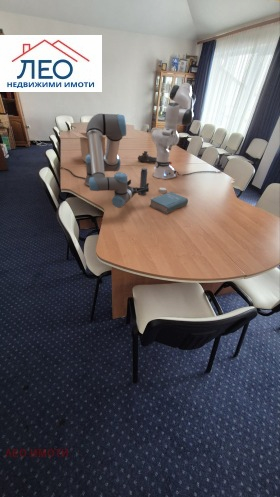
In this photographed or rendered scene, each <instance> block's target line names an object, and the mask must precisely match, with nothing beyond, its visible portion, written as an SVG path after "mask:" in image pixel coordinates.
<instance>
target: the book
mask: <svg viewBox="0 0 280 497" xmlns="http://www.w3.org/2000/svg"><path fill="white" fill-rule="evenodd" d="M149 201H150V204H149V207H151V208H154V209H155V210H157V211H159V212H161V213H164V214H168V213H171V212H173V211H175V210H178V209H180V208H182V207H185V206H186V205H188V202H189V198H188V197H184V196H182V195H180V194H177V193H175V192H172V191H169V192H166V193H163V194H161V195H158V196H156V197H152V198H150V199H149Z"/></svg>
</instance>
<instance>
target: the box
mask: <svg viewBox="0 0 280 497" xmlns="http://www.w3.org/2000/svg"><path fill="white" fill-rule="evenodd" d="M70 133H71V134H72V135H74V136H75V137H77V138H79V144H80V153H81V160H83V162H85V163H86V156H87V155H89V154H90V149H89V139H88V138H87V135H86V130H77V132H76V131H70ZM106 139H107V137H106V136H105V135H103V137H102V139H101V140H102V151H103V156H104V155H105V153H106Z"/></svg>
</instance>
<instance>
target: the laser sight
mask: <svg viewBox="0 0 280 497" xmlns="http://www.w3.org/2000/svg"><path fill="white" fill-rule="evenodd" d="M156 159H157V156H156V157H154V156H151V155H149V154H148V151H147V150H145V151H143V152H142V154H141V155H138V157H137V161H138V162H141V163H149V164H151V163H153V164H156Z"/></svg>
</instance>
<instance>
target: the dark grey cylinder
mask: <svg viewBox="0 0 280 497" xmlns="http://www.w3.org/2000/svg"><path fill="white" fill-rule="evenodd" d="M139 178H140V180H139V188H140V187H144V186H145V185H146V184H147V183H148V182H147V181H148V168H147V167H141V169H140V177H139ZM146 193H147V192H145V193H142V194H140V196H146Z"/></svg>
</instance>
